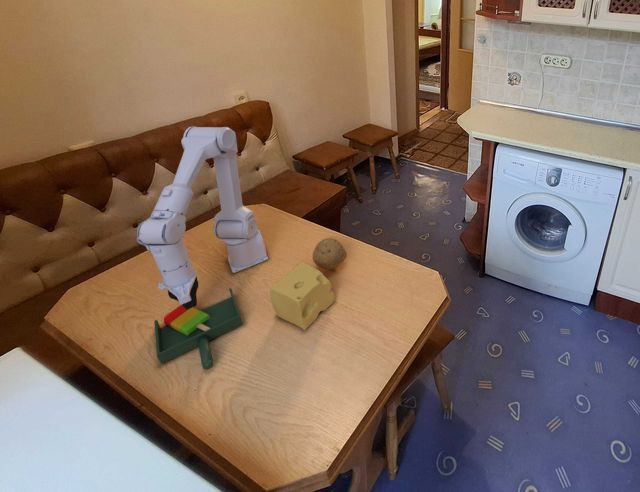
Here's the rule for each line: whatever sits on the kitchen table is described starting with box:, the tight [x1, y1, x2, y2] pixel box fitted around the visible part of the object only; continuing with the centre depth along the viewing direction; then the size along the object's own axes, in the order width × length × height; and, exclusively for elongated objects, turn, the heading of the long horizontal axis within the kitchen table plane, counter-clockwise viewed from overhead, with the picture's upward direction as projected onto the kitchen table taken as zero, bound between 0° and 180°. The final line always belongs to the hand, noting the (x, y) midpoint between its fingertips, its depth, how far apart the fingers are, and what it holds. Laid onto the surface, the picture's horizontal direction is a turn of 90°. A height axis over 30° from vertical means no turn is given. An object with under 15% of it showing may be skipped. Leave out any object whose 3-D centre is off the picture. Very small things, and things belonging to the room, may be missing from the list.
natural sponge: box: [312, 237, 347, 271], centre depth 106 cm, size 9×9×10 cm
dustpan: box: [154, 287, 244, 371], centre depth 84 cm, size 20×16×3 cm
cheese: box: [270, 261, 336, 331], centre depth 92 cm, size 10×11×10 cm
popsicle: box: [163, 304, 210, 336], centre depth 88 cm, size 6×15×2 cm, turn 68°
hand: (191, 305), depth 87 cm, fingers closed
